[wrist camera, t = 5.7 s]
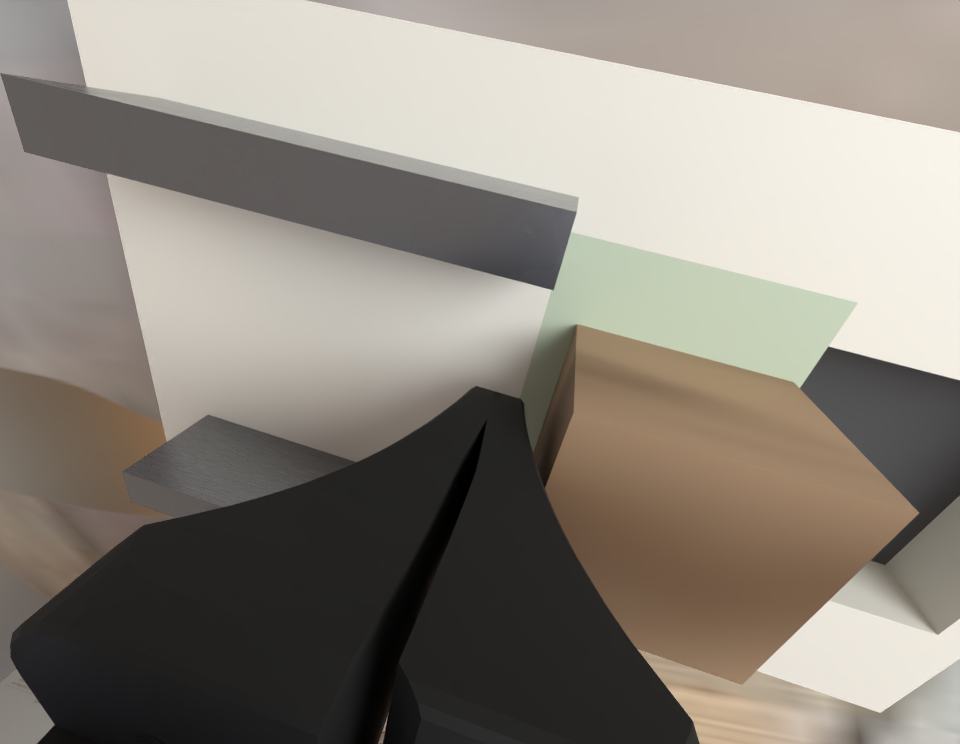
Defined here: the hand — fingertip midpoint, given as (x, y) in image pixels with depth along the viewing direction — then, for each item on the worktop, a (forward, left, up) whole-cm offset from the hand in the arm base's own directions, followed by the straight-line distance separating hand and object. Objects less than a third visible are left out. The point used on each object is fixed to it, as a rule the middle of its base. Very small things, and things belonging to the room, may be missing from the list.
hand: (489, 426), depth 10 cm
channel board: (0, -2, -4) cm, 4 cm away
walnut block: (0, -4, -2) cm, 4 cm away
